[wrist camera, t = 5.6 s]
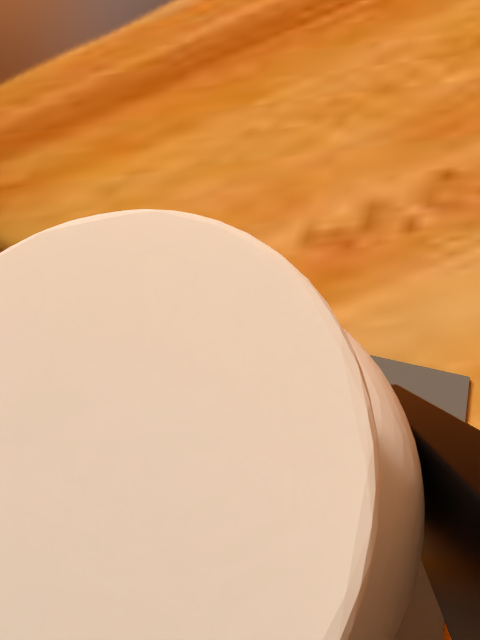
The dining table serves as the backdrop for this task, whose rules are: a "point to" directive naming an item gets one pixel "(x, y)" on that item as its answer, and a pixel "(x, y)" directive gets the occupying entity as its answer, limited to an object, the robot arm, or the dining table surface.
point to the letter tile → (451, 396)
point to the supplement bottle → (193, 444)
